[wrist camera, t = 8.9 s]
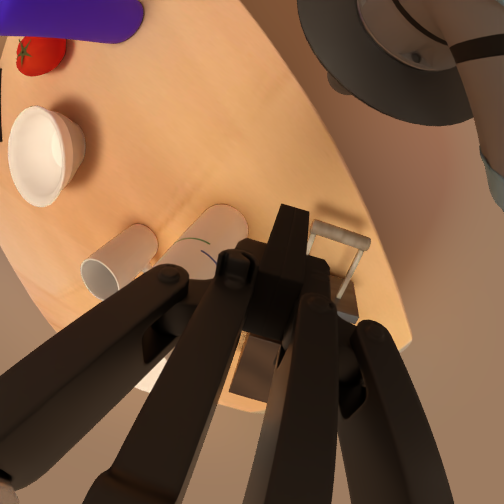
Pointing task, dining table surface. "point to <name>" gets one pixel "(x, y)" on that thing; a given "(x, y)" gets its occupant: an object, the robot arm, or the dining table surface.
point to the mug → (119, 261)
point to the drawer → (344, 287)
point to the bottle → (71, 19)
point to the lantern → (0, 108)
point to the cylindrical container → (201, 255)
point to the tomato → (39, 54)
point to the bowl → (44, 154)
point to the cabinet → (255, 367)
